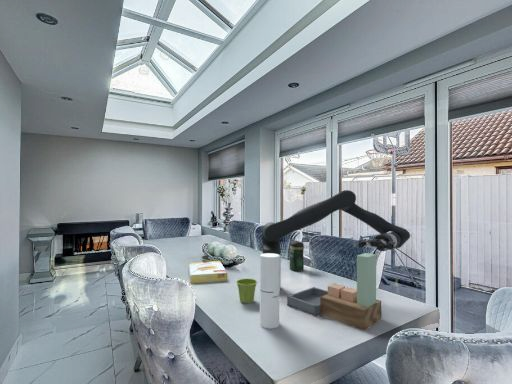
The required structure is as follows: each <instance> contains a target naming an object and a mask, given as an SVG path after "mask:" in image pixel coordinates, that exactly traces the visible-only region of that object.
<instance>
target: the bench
mask: <svg viewBox="0 0 512 384" xmlns="http://www.w3.org/2000/svg"><path fill="white" fill-rule="evenodd" d="M319 316H323V317H325V318H328V319H330V320H333V321H337V322H338V323H342V324H344V325H347V326H350V327H352V328H355V329H357V330H360V331H362V332H363V331H364V332H365V331H366V330H368V329H369V328H371V327H373V326H374V325H375V324H377V323H378V322H380V321H381V320H382V300H379V299H376V303H375V304H373V305H371V306H370V307H368V308H367V307H363V306H360V305H357V301H355V302H350V301H347V300H344V299H341V297H340V298H337V297H334V296H330V295H328V294H327V295H324V296H322V297H320V315H319Z"/></svg>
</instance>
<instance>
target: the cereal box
mask: <svg viewBox="0 0 512 384" xmlns="http://www.w3.org/2000/svg"><path fill="white" fill-rule="evenodd" d="M188 274H189V282H190V284H200V283H203V284H204V283H216V282H227V281H228V272H227V270H226V268H225V266H223V265H222V263H221V262H220V261H210V262H203V261H199V262H189V263H188Z"/></svg>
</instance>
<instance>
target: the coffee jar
mask: <svg viewBox="0 0 512 384" xmlns="http://www.w3.org/2000/svg"><path fill="white" fill-rule="evenodd" d="M304 245H305V243H304V242H302V241H298V240H291V241H290V242H289V269H290V270H291V271H293V272H302V271H304V269H305V267H304V265H305V264H304V263H305V262H304V250H305V247H304Z"/></svg>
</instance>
